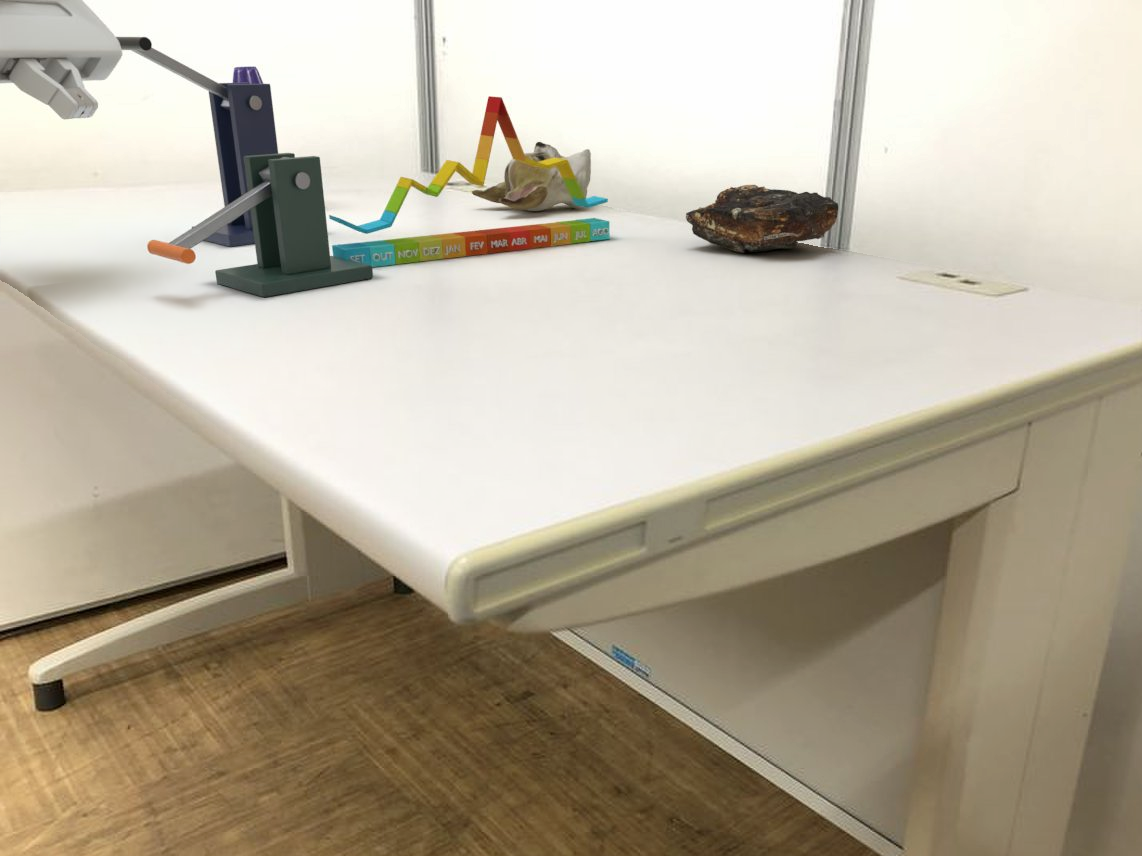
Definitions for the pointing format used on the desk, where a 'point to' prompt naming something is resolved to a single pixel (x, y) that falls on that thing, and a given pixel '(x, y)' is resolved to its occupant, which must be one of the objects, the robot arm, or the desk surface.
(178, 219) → the desk surface
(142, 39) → the back lever
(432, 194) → the chart
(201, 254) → the desk surface
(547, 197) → the ceramic sculpture
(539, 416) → the desk surface
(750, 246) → the fossil rock
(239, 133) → the back bracket
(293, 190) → the front bracket
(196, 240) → the front lever
